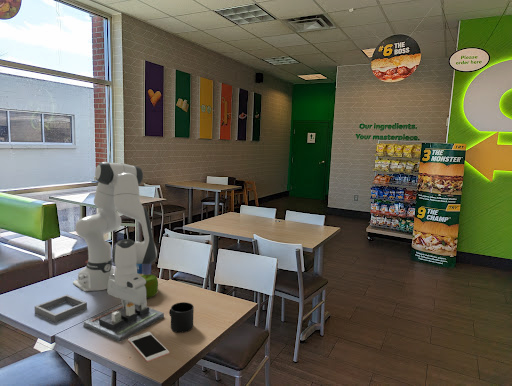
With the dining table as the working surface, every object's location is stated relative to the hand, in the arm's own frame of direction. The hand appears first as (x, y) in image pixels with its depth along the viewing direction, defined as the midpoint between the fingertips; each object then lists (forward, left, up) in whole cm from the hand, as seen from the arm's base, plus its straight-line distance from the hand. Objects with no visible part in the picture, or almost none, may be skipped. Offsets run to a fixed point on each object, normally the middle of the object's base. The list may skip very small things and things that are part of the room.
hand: (126, 308), depth 151 cm
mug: (+21, +10, -6) cm, 24 cm away
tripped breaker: (+2, 0, -2) cm, 3 cm away
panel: (-1, 0, -6) cm, 6 cm away
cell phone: (+21, -8, -7) cm, 24 cm away
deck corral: (-32, -9, -6) cm, 34 cm away
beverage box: (-28, +33, -6) cm, 44 cm away
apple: (-13, +24, -6) cm, 28 cm away
